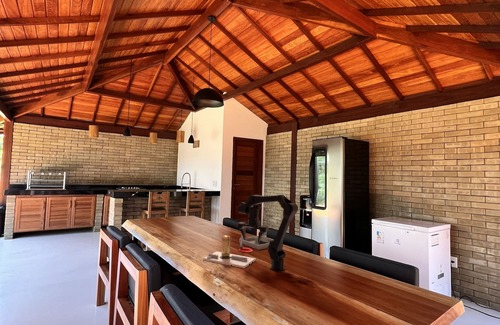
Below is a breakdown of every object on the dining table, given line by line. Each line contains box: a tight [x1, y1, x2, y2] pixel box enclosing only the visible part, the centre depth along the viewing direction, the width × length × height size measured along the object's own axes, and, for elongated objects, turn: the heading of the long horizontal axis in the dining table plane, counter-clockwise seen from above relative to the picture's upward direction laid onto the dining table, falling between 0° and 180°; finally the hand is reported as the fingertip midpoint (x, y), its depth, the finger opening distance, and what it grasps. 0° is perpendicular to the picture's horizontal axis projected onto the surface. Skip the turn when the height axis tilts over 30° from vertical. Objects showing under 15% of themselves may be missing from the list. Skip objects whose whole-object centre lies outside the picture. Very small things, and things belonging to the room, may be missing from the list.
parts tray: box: [238, 235, 275, 251], centre depth 206 cm, size 22×22×3 cm
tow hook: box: [237, 234, 253, 254], centre depth 187 cm, size 8×13×9 cm
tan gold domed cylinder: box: [221, 234, 231, 259], centre depth 167 cm, size 5×5×13 cm
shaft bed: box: [202, 251, 257, 269], centre depth 166 cm, size 28×16×3 cm, turn 65°
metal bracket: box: [253, 235, 269, 245], centre depth 207 cm, size 14×6×15 cm
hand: (251, 241), depth 164 cm, fingers open, 9 cm apart
